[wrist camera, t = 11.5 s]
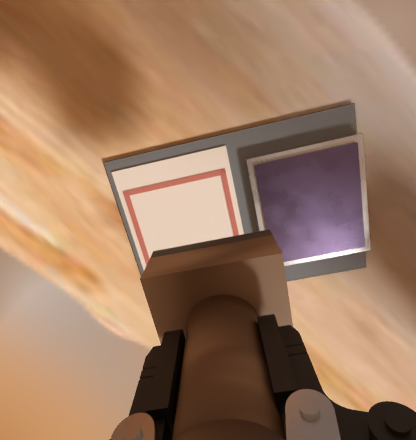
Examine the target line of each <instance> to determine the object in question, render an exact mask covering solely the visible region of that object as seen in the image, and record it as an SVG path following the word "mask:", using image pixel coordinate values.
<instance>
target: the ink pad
mask: <svg viewBox="0 0 416 440" xmlns="http://www.w3.org/2000/svg"><path fill="white" fill-rule="evenodd" d="M245 160H246V165H247V171H248V176H249V181H250V187H251V192H252V197H253V203H254V208H255V213H256V219H257V224H258V230H259V231H263V230H269V229H270V231H271V233H272V235H273V236H274V238H275V240H276V242H277V244H278V246H279V248H280V250H281V252H282V255H283V261H284V266H288V265H293V264H298V263H304V262H309V261H314V260H320V259H325V258H331V257H336V256H341V255H347V254H352V253H357V252H363V251H368V250H371V249H370V233H369V218H368V202H367V186H366V171H365V155H364V139H363V133H354V134H350V135H345V136H341V137H336V138H332V139H328V140H323V141H319V142H314V143H310V144H306V145H301V146H297V147H292V148H288V149H284V150H279V151H275V152H270V153H266V154H261V155H257V156H253V157H248V158H245Z"/></svg>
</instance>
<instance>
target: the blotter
mask: <svg viewBox="0 0 416 440" xmlns="http://www.w3.org/2000/svg"><path fill="white" fill-rule="evenodd" d="M354 133H357V131H356V117H355V103H353V104H349V105H345V106H340V107H336V108H332V109H328V110H324V111H319V112H315V113H311V114H307V115H303V116H298V117H294V118H290V119H286V120H281V121H277V122H273V123H269V124H265V125H260V126H256V127H252V128H248V129H243V130H239V131H235V132H231V133H227V134H222V135H218V136H214V137H210V138H205V139H201V140H197V141H193V142H189V143H184V144H180V145H176V146H172V147H168V148H163V149H159V150H155V151H151V152H146V153H142V154H138V155H134V156H130V157H125V158H121V159H117V160H113V161H108V162H104V165H105V168H106V171H107V174H108V177H109V180H110V183H111V186H112V189H113V192H114V195H115V198H116V201H117V204H118V207H119V210H120V213H121V216H122V219H123V222H124V225H125V228H126V231H127V234H128V237H129V240H130V243H131V246H132V249H133V252H134V255H135V258H136V261H137V264H138V267H139V270H140V273H141V276H142V274H143V272H144V270H145V268H146V266H147V263H148V261H149V259H150V257H151V255H152V253H153V251H157V250H163V249H168V248H173V247H179V246H184V245H189V244H194V243H200V242H205V241H210V240H216V239H221V238H226V237H232V236H237V235H242V234H247V233H253V232H258V231H259V230H258V224H257V219H256V213H255V208H254V203H253V197H252V192H251V187H250V181H249V176H248V171H247V165H246V160H245V158H248V157H253V156H257V155H261V154H266V153H270V152H275V151H279V150H284V149H288V148H292V147H297V146H301V145H306V144H310V143H314V142H319V141H323V140H328V139H332V138H336V137H341V136H345V135H350V134H354ZM364 267H366V259H365V251H363V252H357V253H352V254H347V255H341V256H336V257H331V258H325V259H320V260H314V261H309V262H304V263H298V264H293V265H288V266H284V268H285V275H286V282H287V281H293V280H298V279H304V278H309V277H315V276H320V275H326V274H331V273H337V272H342V271H348V270H353V269H359V268H364Z"/></svg>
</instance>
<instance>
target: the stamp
mask: <svg viewBox="0 0 416 440" xmlns="http://www.w3.org/2000/svg"><path fill="white" fill-rule="evenodd" d="M140 280H141V283H142V286H143V290H144V293H145V296H146V299H147V302H148V305H149V308H150V311H151V314H152V318H153V321H154V324H155V327H156V330H157V333H158V336H159V339H160V343H162V339H163V335H164V332H167V331H173V330H179V329H182V330H183V332H184V334H185V338H186V339H185V347H184V354H183V362H182V369H181V377H180V384H179V392H178V399H177V407H176V414H175V421H174V429H173V436H172V440H287V439H286V434H285V429H284V425H283V421H282V417H281V414H280V412H279V410H278V408H277V406H276V402H275V397H274V393H273V388H272V384H271V379H270V375H269V370H268V366H267V361H266V357H265V352H264V347H263V343H262V338H261V334H260V329H259V325H258V320H257V317H258V316H264V315H270V314H275V317H276V320H277V324H278V327H279V326H285V325H291V326H292V327H293V324H292V317H291V310H290V303H289V296H288V289H287V282H286V275H285V268H284V261H283V255H282V252H281V250H280V248H279V246H278V244H277V242H276V240H275V238H274V236H273V235H272V233H271V231H270V229H269V230H263V231H258V232H253V233H247V234H242V235H237V236H232V237H226V238H221V239H216V240H210V241H205V242H200V243H194V244H189V245H184V246H179V247H173V248H168V249H163V250H157V251H153V253H152V255H151V257H150V259H149V261H148V263H147V266H146V268H145V270H144V272H143V274H142V276H141V278H140Z"/></svg>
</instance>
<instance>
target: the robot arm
mask: <svg viewBox="0 0 416 440" xmlns="http://www.w3.org/2000/svg"><path fill="white" fill-rule="evenodd" d="M257 320H258V325H259V329H260V334H261V338H262V343H263V347H264V352H265V357H266V361H267V366H268V370H269V375H270V379H271V384H272V388H273V393H274V397H275V402H276V406H277V408H278V410H279V412H280V414H281V417H282V421H283V425H284V429H285V434H286V439H287V440H416V412H415V411H413V410H412V409H410V408H408V407H407V406H404V405H402V404H399V403H396V402H387V401H386V402H380V403H377V404H375V405H374V406H372V407H371V409H370V410H369V412H363V411H357V410H351V409H347V408H344V407H342V406H340V405H338V404H336V403H334V402H333V401H332V400H330V399H329V398H328V397H327V396H326V394H325V393H324V392H323V390H322V388H321V385H320V383H319V380H318V378H317V375H316V373H315V370H314V368H313V365H312V363H311V361H310V358H309V356H308V354H307V351H306V348H305V346H304V343H303V341H302V338H301V336H300V333H299V332H298V331H297V330H296V329H295V328H293V327H292V326H291V325H285V326H279V327H278V324H277V320H276V317H275V314H270V315H264V316H258V317H257ZM185 339H186V338H185V334H184V332H183V330H182V329H179V330H173V331H167V332H164V335H163V339H162V343H161V346H155V347H153V348H152V349H151V351H150V352H149V354H148V355H147V356H146V358H145V362H144V365H143V370H142V372H141V376H140V380H139V383H138V386H137V390H136V393H135V396H134V400H133V403H132V407H131V410H130V413H129V416H128V417H127V418H125V419H124V420H123V421H122V422H121V423H120V424H119V425H118V426H117V427H116V429H115V430H114V432H113V434H112V436H111V439H110V440H172V436H173V429H174V421H175V414H176V407H177V399H178V392H179V384H180V377H181V369H182V362H183V354H184V347H185Z"/></svg>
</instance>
